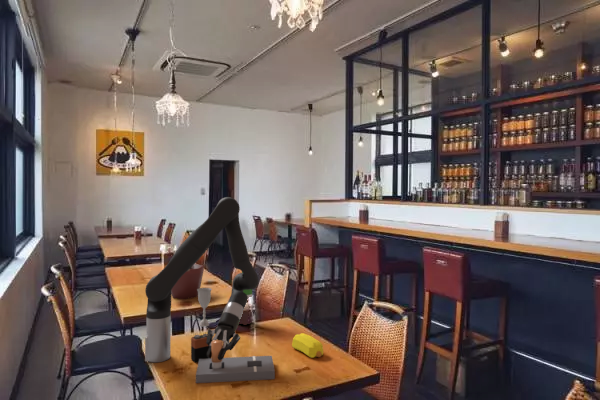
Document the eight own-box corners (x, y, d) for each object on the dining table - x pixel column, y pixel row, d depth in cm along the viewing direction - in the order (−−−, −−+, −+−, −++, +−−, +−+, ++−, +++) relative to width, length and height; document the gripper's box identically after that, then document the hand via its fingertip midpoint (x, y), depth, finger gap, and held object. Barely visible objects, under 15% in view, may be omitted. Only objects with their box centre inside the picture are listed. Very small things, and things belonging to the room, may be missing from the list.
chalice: (213, 323, 216) (214, 288, 215) (207, 327, 209) (207, 291, 209) (201, 322, 218) (201, 287, 217) (194, 326, 211) (194, 290, 211)
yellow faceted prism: (302, 343, 190) (288, 347, 186) (302, 329, 190) (288, 332, 185) (327, 357, 175) (312, 361, 171) (327, 341, 175) (312, 345, 171)
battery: (190, 359, 171) (190, 334, 171) (206, 355, 175) (206, 331, 175) (194, 363, 167) (195, 338, 167) (211, 359, 171) (211, 334, 171)
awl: (211, 376, 156) (211, 343, 156) (211, 371, 160) (211, 340, 160) (222, 375, 157) (222, 343, 156) (222, 370, 161) (222, 339, 160)
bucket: (196, 301, 257) (196, 260, 256) (160, 300, 257) (160, 259, 257) (206, 291, 281) (206, 253, 281) (173, 290, 282) (173, 253, 281)
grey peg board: (195, 383, 150) (195, 374, 150) (199, 366, 164) (199, 358, 164) (274, 379, 154) (274, 370, 154) (271, 363, 168) (271, 355, 168)
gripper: (212, 309, 167) (193, 350, 156) (244, 313, 162) (226, 356, 151) (219, 318, 172) (201, 359, 161) (250, 323, 167) (234, 365, 156)
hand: (214, 358), depth 156 cm, fingers closed on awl, 4 cm apart
